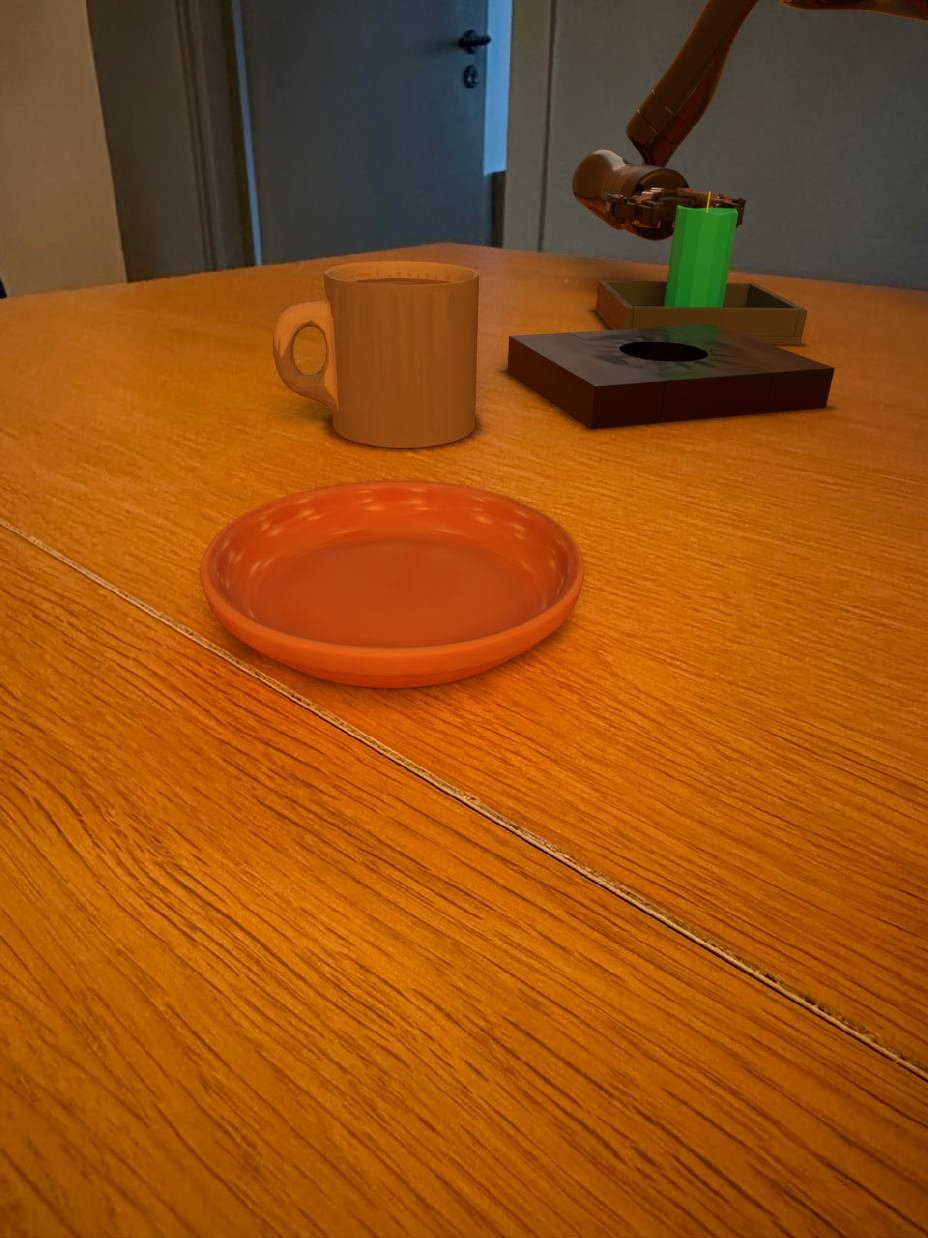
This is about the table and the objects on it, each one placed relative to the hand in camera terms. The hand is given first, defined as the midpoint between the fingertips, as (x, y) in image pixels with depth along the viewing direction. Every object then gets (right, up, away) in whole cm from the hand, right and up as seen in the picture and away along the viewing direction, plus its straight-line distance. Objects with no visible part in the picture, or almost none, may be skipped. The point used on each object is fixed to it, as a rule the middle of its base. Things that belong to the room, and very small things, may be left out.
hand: (696, 216), depth 88 cm
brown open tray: (0, -10, +3) cm, 11 cm away
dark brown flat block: (-8, -22, -18) cm, 30 cm away
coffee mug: (-30, -28, -28) cm, 49 cm away
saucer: (-27, -41, -50) cm, 70 cm away
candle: (0, -10, +3) cm, 10 cm away
